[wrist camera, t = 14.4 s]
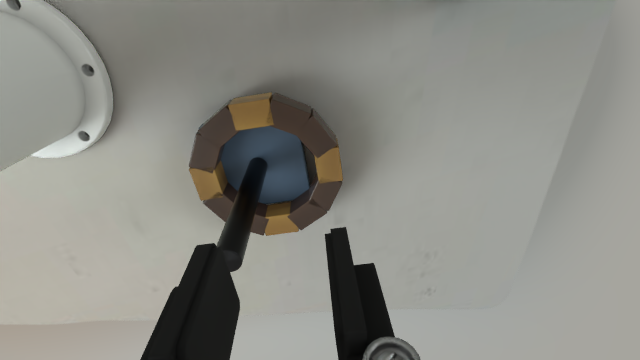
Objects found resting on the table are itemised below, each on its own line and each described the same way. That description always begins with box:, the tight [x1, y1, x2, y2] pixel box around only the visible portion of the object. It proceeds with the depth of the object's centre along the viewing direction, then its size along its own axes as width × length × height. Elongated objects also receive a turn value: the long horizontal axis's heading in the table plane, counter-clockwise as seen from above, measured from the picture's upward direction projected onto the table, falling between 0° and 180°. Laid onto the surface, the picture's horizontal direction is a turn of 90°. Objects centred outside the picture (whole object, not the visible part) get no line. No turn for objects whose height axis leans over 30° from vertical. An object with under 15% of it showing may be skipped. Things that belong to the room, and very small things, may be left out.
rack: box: [199, 124, 310, 272], centre depth 23 cm, size 8×8×13 cm
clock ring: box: [189, 92, 343, 236], centre depth 27 cm, size 12×12×2 cm
